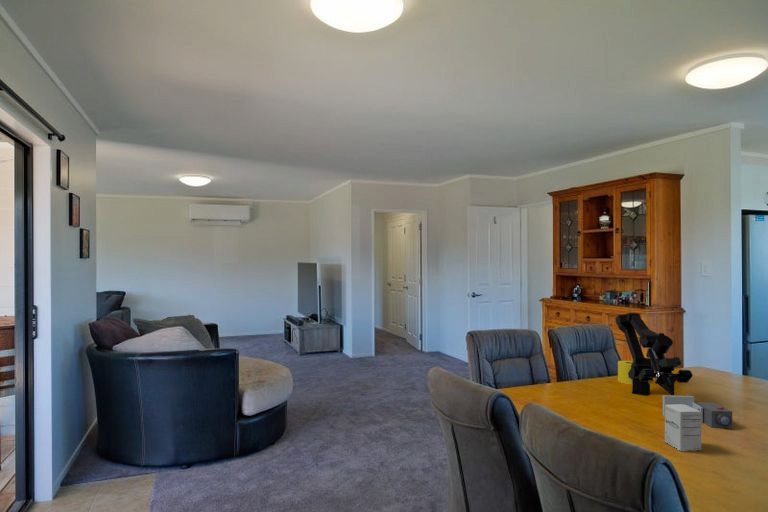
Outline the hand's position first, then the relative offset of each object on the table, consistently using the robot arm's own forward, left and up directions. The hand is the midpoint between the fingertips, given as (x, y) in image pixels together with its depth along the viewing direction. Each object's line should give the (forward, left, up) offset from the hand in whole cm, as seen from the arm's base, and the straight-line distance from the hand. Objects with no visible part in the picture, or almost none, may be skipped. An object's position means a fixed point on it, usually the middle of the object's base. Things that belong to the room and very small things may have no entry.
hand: (672, 394), depth 181 cm
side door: (+3, -6, -7) cm, 10 cm away
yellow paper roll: (-19, +42, -7) cm, 47 cm away
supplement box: (+3, -36, -7) cm, 37 cm away
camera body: (+13, -5, -7) cm, 16 cm away
